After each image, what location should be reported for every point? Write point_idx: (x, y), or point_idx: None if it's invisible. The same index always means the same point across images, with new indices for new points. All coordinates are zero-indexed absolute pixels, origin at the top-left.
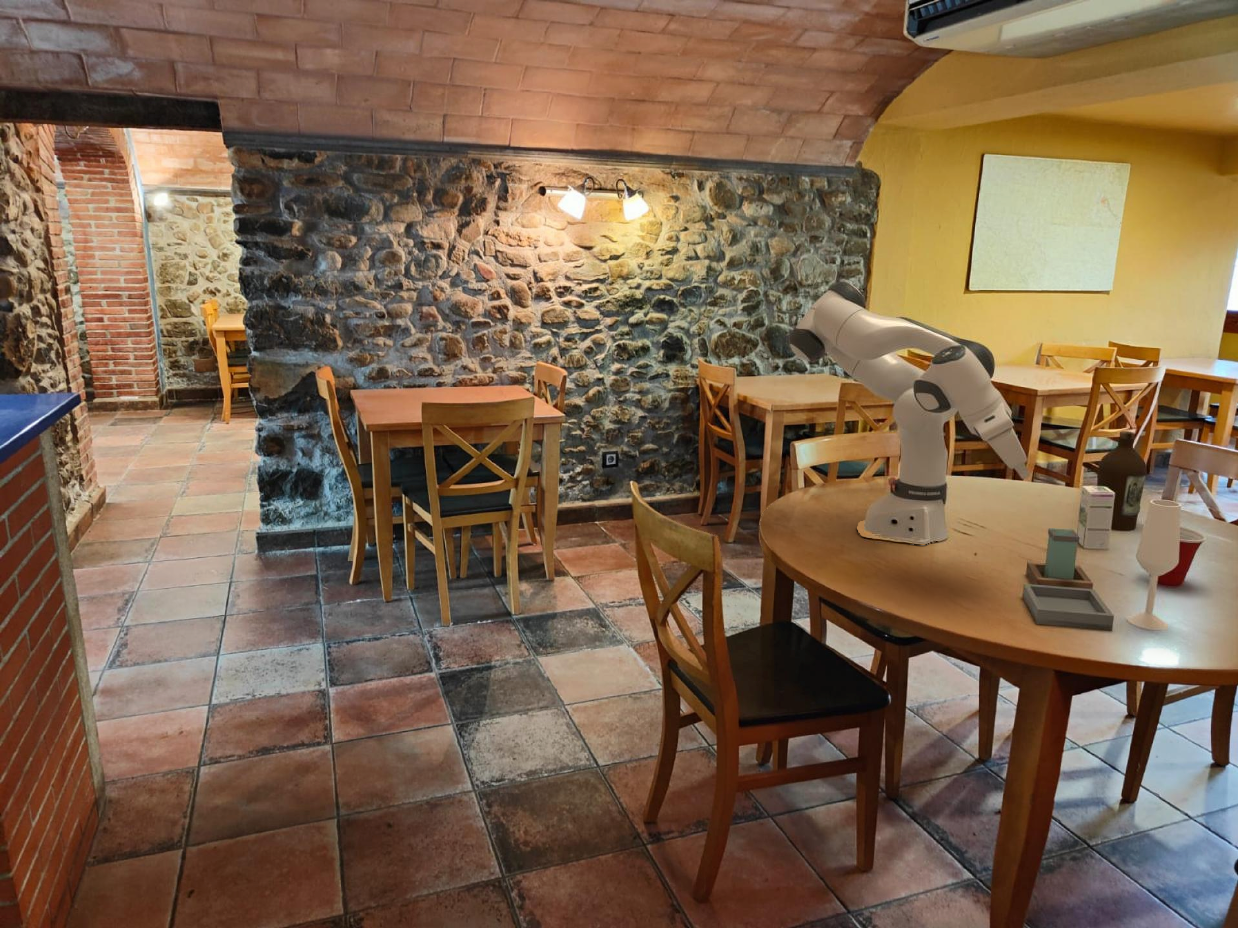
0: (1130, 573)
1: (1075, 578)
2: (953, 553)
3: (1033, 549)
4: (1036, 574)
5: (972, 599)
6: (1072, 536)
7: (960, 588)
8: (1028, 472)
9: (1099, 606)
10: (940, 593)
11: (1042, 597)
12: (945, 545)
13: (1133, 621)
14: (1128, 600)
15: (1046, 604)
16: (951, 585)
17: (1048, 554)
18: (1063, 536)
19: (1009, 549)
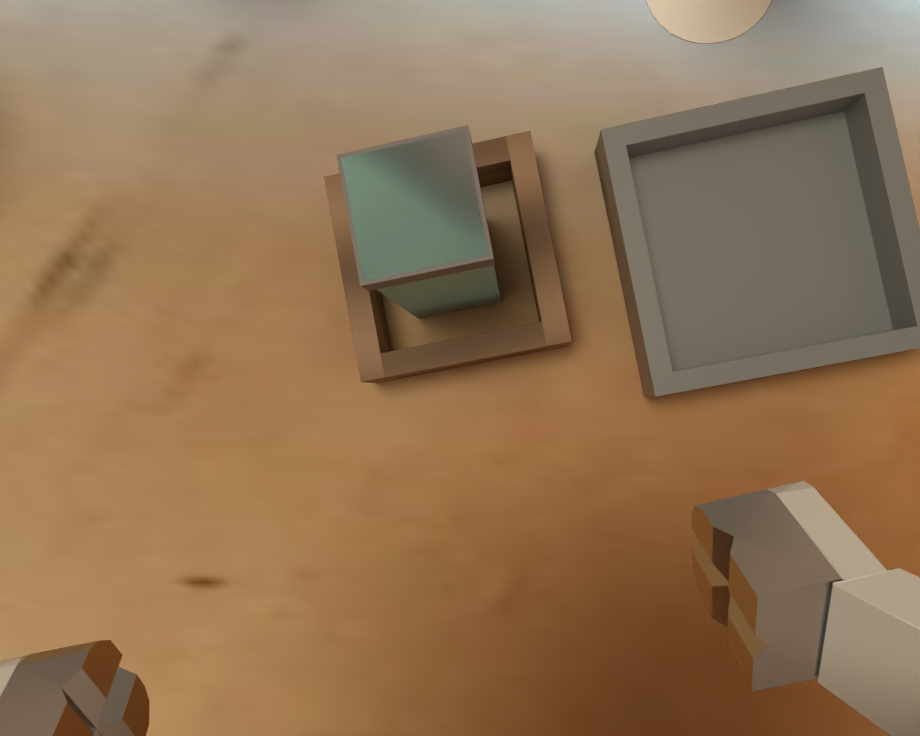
0: (206, 11)
1: None
2: (229, 671)
3: (55, 353)
4: (513, 345)
5: None
6: (471, 161)
7: (647, 630)
8: (831, 516)
9: (766, 117)
10: (741, 707)
11: (668, 323)
12: None
13: (741, 22)
14: (509, 30)
15: (741, 309)
16: (628, 667)
17: (427, 294)
18: (483, 208)
19: (90, 446)
